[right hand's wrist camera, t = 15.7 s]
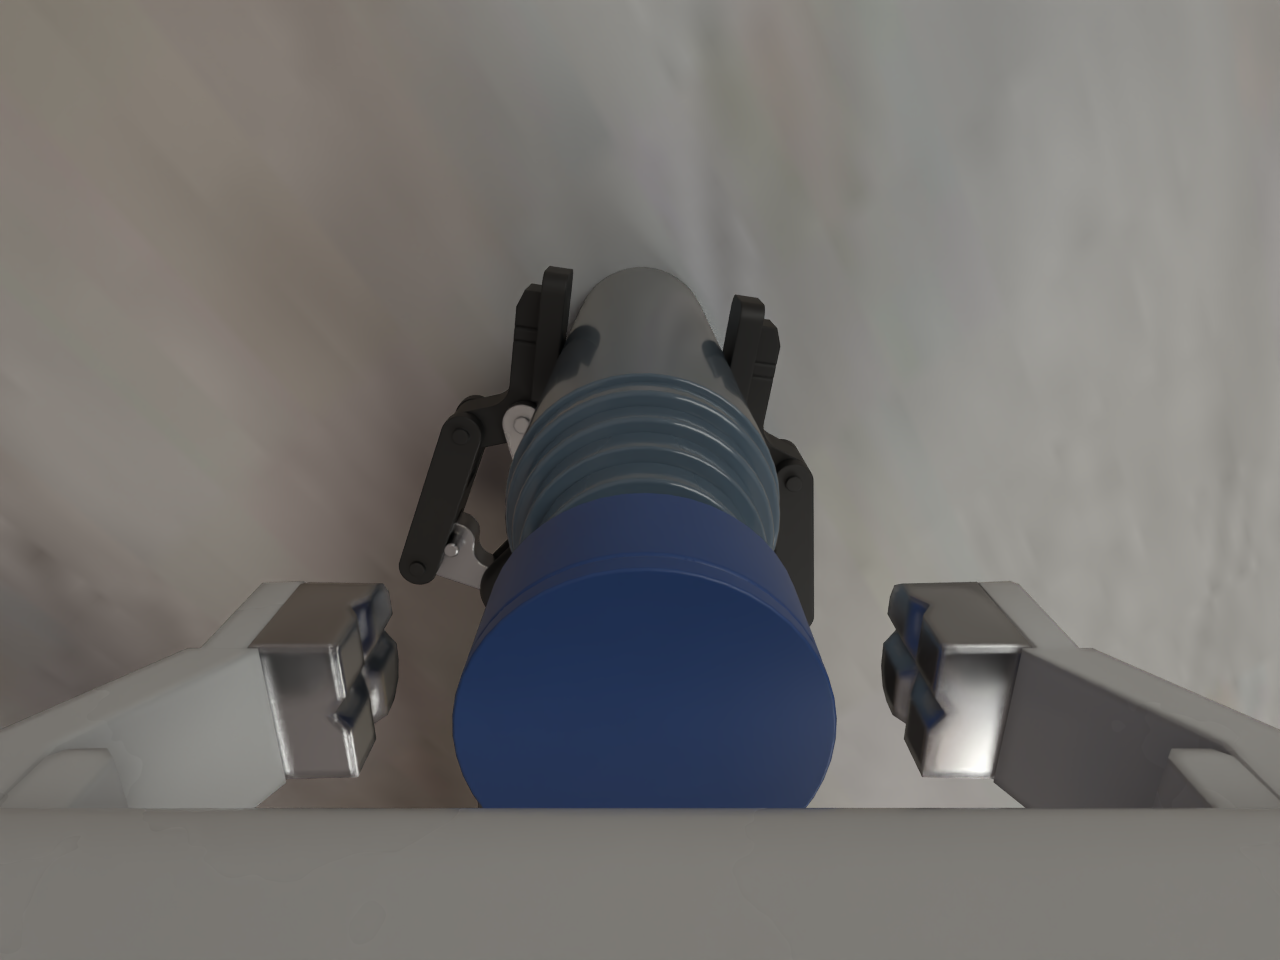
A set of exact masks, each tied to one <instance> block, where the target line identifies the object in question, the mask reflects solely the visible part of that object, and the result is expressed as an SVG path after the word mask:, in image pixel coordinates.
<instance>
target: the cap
mask: <svg viewBox="0 0 1280 960" xmlns="http://www.w3.org/2000/svg"><path fill="white" fill-rule="evenodd" d="M452 720H453V740H454V745H455V751H456V756H457V759H458V762H459V765H460V768H461V771H462V774H463V776H464V778H465V780H466V782H467V784H468V786H469V788H470V790H471V792H472V794H473V795H474V797H475V798H476V799H477V801H478V802H479V804H480V805H481V806H482V808H806V807H807V806H808V804H809V803H810V802H811V800H812V799H813V798H814V796H815V794H816V792H817V791H818V789H819V787H820V785H821V783H822V782H823V780H824V777H825V775H826V772H827V770H828V767H829V764H830V762H831V758H832V754H833V749H834V744H835V739H836V721H837V717H836V709H835V700H834V695H833V692H832V688H831V685H830V681H829V677H828V675H827V672H826V670H825V667H824V664H823V662H822V659H821V656H820V654H819V651H818V648H817V646H816V643H815V640H814V638H813V635H812V632H811V630H810V627H809V625H808V622H807V619H806V617H805V614H804V611H803V609H802V606H801V603H800V601H799V598H798V595H797V593H796V590H795V588H794V585H793V583H792V581H791V579H790V577H789V574H788V572H787V570H786V569H785V567H784V566H783V564H782V562H781V561H780V559H779V558H778V556H777V555H776V554H775V552H774V551H773V550H772V549H771V548H770V547H769V546H768V544H767V543H766V542H765V541H764V540H763V539H762V538H761V537H760V536H758V535H757V534H756V533H755V532H754V531H753V530H751V529H750V528H749V527H748V526H747V525H745V524H743V523H742V522H740V521H739V520H737V519H736V518H734V517H733V516H731V515H729V514H727V513H725V512H723V511H721V510H719V509H717V508H715V507H713V506H710V505H707V504H704V503H701V502H698V501H695V500H692V499H689V498H684V497H679V496H673V495H668V494H654V493H634V494H620V495H615V496H609V497H604V498H599V499H596V500H593V501H590V502H586V503H583V504H580V505H578V506H576V507H573V508H571V509H569V510H567V511H564V512H562V513H560V514H559V515H557V516H555V517H554V518H552V519H550V520H549V521H547V522H545V523H544V524H542V525H541V526H540V527H539V528H538V529H536V530H535V531H534V532H533V533H531V534H530V535H529V536H528V537H527V538H526V539H525V540H524V541H523V542H522V543H521V544H520V545H519V546H518V547H517V548H516V549H515V551H514V552H513V553H512V555H511V556H510V557H509V559H508V560H507V562H506V563H505V565H504V566H503V567H502V570H501V572H500V574H499V576H498V578H497V580H496V582H495V584H494V586H493V589H492V592H491V595H490V597H489V600H488V603H487V606H486V608H485V611H484V614H483V617H482V620H481V622H480V625H479V628H478V631H477V633H476V636H475V639H474V642H473V645H472V647H471V650H470V653H469V656H468V659H467V661H466V664H465V667H464V670H463V672H462V675H461V678H460V682H459V685H458V688H457V691H456V694H455V701H454V708H453V714H452Z"/></svg>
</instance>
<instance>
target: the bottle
mask: <svg viewBox="0 0 1280 960" xmlns="http://www.w3.org/2000/svg"><path fill="white" fill-rule="evenodd" d="M634 493H654V494H668V495H673V496H679V497H684V498H689V499H692V500H695V501H698V502H701V503H704V504H707V505H710V506H713V507H715V508H717V509H719V510H721V511H723V512H725V513H727V514H729V515H731V516H733V517H734V518H736V519H737V520H739V521H740V522H742V523H743V524H745V525H747V526H748V527H749V528H750V529H751V530H753V531H754V532H755V533H756V534H757V535H758V536H760V537H761V538H762V539H763V540H764V541H765V542H766V543H767V544H768V546H769V547H770V548H771V549H772V550H773V551H774V550H775V547H776V543H777V538H778V533H779V525H780V506H779V502H780V494H779V483H778V477H777V473H776V468H775V464H774V462H773V459H772V457H771V454H770V451H769V449H768V447H767V445H766V442H765V440H764V438H763V436H762V434H761V432H760V430H759V428H758V426H757V424H756V421H755V419H754V417H753V415H752V413H751V411H750V409H749V407H748V405H747V403H746V400H745V398H744V396H743V394H742V392H741V390H740V388H739V386H738V384H737V382H736V379H735V377H734V375H733V373H732V371H731V369H730V367H729V365H728V363H727V361H726V358H725V356H724V354H723V352H722V350H721V348H720V346H719V344H718V342H717V340H716V337H715V335H714V333H713V331H712V329H711V327H710V325H709V323H708V321H707V318H706V316H705V314H704V312H703V310H702V308H701V306H700V304H699V302H698V300H697V298H696V297H695V295H694V294H693V293H692V291H691V290H690V289H689V288H688V287H687V286H686V285H685V284H684V283H683V282H682V281H680V280H679V279H678V278H676V277H675V276H673V275H671V274H669V273H667V272H664V271H662V270H658V269H654V268H647V267H635V268H628V269H624V270H621V271H618V272H616V273H613V274H611V275H610V276H608V277H606V278H605V279H603V280H602V281H601V282H600V283H598V284H597V285H596V286H595V287H594V288H593V289H592V291H591V292H590V293H589V295H588V296H587V297H586V299H585V301H584V303H583V305H582V307H581V309H580V311H579V313H578V316H577V318H576V320H575V322H574V324H573V327H572V329H571V331H570V333H569V335H568V338H567V340H566V342H565V344H564V346H563V349H562V351H561V353H560V355H559V357H558V360H557V362H556V364H555V366H554V368H553V371H552V373H551V375H550V377H549V379H548V381H547V384H546V386H545V388H544V390H543V392H542V395H541V397H540V399H539V401H538V403H537V406H536V408H535V410H534V412H533V414H532V417H531V419H530V421H529V423H528V425H527V428H526V430H525V432H524V434H523V436H522V438H521V441H520V443H519V445H518V447H517V449H516V452H515V454H514V457H513V460H512V463H511V466H510V469H509V474H508V479H507V483H506V499H505V502H506V512H505V520H506V531H507V537H508V541H509V545H510V549H511V552H512V553H513V552H514V551H515V549H516V548H517V547H518V546H519V545H520V544H521V543H522V542H523V541H524V540H525V539H526V538H527V537H528V536H529V535H530V534H531V533H533V532H534V531H535V530H536V529H538V528H539V527H540V526H541V525H542V524H544V523H545V522H547V521H549V520H550V519H552V518H554V517H555V516H557V515H559V514H560V513H562V512H564V511H567V510H569V509H571V508H573V507H576V506H578V505H580V504H583V503H586V502H590V501H593V500H596V499H599V498H604V497H609V496H615V495H620V494H634Z"/></svg>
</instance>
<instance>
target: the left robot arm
mask: <svg viewBox="0 0 1280 960" xmlns="http://www.w3.org/2000/svg"><path fill="white" fill-rule="evenodd" d="M572 280H573V269H567V268H560V267H553V266H549V267H548V268H547V269H546V270H545V272H544V276H543V281H542V285H537V284H531V285H530V286H529V287H528V288H527V289H526V290H525V291H524V293H523V295H522V297H521V299H520V301H519V303H518V305H517V307H516V318H515V330H514V342H513V353H512V365H511V376H510V387H509V390H507V391H506V392H504V393H502V394H498V395H493V396H488V397H483V396H480V395H472V396H469V397H467V398H465V399H464V400H463V401H462V402H461V403H460V405H459V406H458V408H457V410H456V412H455V413H454V414H453V415H452V416H450V417H449V418H448V420H447V421H446V422H445V423H444V425H443V427H442V429H441V432H440V436H439V439H438V442H437V445H436V448H435V451H434V455H433V458H432V461H431V464H430V467H429V470H428V474H427V477H426V480H425V483H424V486H423V489H422V493H421V496H420V499H419V502H418V505H417V508H416V511H415V515H414V518H413V521H412V524H411V527H410V530H409V534H408V537H407V540H406V543H405V546H404V549H403V553H402V556H401V559H400V562H399V570H400V573H401V574H402V576H403V577H404V578H405V579H406V580H407V581H409V582H411V583H414V584H426V583H428V582H430V581H432V580H433V579H434V577H435V576H436V575H439V576H442V577H444V578H447V579H450V580H453V581H456V582H459V583H462V584H465V585H468V586H471V587H474V588H477V589H480V594H481V598H482V601H483V603H484V605H485V607H486V606H487V603H488V600H489V597H490V595H491V592H492V589H493V586H494V584H495V582H496V580H497V578H498V576H499V574H500V572H501V570H502V567H503V566H504V565H505V563H506V562H507V560H508V559H509V557H510V556H511V555H512V552H511V549H510V545H509V541H508V540H507V541H506V542H505V543H504V544H503V545H502V546H501V547H500V548H499V549H498V550H497V551H496V552H495V553H494V554H493V555H492V554H490V553H488V552H487V551H485V550H484V549H483V547H482V546H481V544H480V541H479V534H480V526H479V523H478V522H477V520H476V519H475V518H474V517H473V516H471V515H470V514H467V513H465V512H463V511H464V508H465V505H466V502H467V499H468V496H469V493H470V490H471V487H472V484H473V481H474V478H475V476H476V473H477V470H478V467H479V464H480V461H481V458H482V455H483V452H484V449H485V447H488V446H493V445H498V444H503V443H507V444H508V447H509V450H510V454H511V457H512V460H513V457H514V454H515V452H516V449H517V447H518V445H519V443H520V441H521V438H522V436H523V434H524V432H525V430H526V428H527V425H528V423H529V421H530V419H531V417H532V414H533V412H534V410H535V408H536V406H537V403H538V401H539V399H540V397H541V395H542V392H543V390H544V388H545V386H546V384H547V381H548V379H549V377H550V375H551V373H552V371H553V368H554V366H555V364H556V362H557V360H558V357H559V355H560V353H561V351H562V349H563V346H564V344H565V342H566V335H567V326H568V317H569V308H570V299H571V290H572ZM764 314H765V306H764V304H763V303H762V302H761V301H760V300H759V299H758V298H754V297H748V296H741V295H735V296H734V298H733V301H732V305H731V310H730V315H729V321H728V326H727V331H726V337H725V342H724V347H723V354H724V356H725V358H726V361H727V363H728V365H729V367H730V369H731V371H732V373H733V375H734V377H735V379H736V382H737V384H738V386H739V388H740V390H741V392H742V394H743V396H744V398H745V400H746V403H747V405H748V407H749V409H750V411H751V413H752V415H753V417H754V419H755V421H756V424H757V426H758V428H759V430H760V432H761V434H762V436H763V438H764V440H765V442H766V445H767V447H768V449H769V451H770V454H771V457H772V459H773V462H774V464H775V468H776V473H777V477H778V483H779V494H780V502H779V506H780V525H779V533H778V538H777V543H776V547H775V550H774V552H775V554H776V555H777V556H778V558H779V559H780V561H781V562H782V564H783V566H784V567H785V569H786V570H787V572H788V574H789V577H790V579H791V581H792V583H793V585H794V588H795V590H796V593H797V595H798V598H799V601H800V603H801V606H802V609H803V611H804V614H805V617H806V619H807V622H808V625H809V627H810V625H811V624H812V622H813V619H814V509H813V476H812V474H811V472H810V470H809V469H808V467H807V465H806V463H805V462H804V460H803V458H802V456H801V455H800V453H799V451H798V450H797V448H796V446H795V445H794V444H793V443H792V442H790V441H788V440H785V439H778V438H776V437H774V436H773V435H771V434H769V433H767V432H766V431H765V430H763V425H764V419H765V414H766V410H767V405H768V401H769V396H770V391H771V387H772V382H773V377H774V373H775V368H776V364H777V359H778V354H779V350H780V342H779V336H778V330H777V328H776V326H775V325H774V324H773V323H772V322H771V321H770V320H767V319H764ZM478 808H482V806H481V805H480V804H479V802H478Z"/></svg>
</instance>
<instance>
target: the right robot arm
mask: <svg viewBox="0 0 1280 960" xmlns="http://www.w3.org/2000/svg"><path fill="white" fill-rule="evenodd" d="M391 616H392V608H391V602H390V596H389V591H388V590H387V588H386V587H385V586H384V584H383V583H333V582H307V583H306V582H304V581H292V582H268V583H262V584H261V585H260V586H259V587H258V588H257V589H256V590H255V591H254V592H253V593H252V594H251V595H250V597H249V598H248V599H247V600H246V601H245V602H244V603H243V604H242V605H241V606H240V607H239V608H238V609H237V610H236V611H235V612H234V613H233V614H232V615H231V617H230V618H229V619H228V620H227V621H226V622H225V623H224V624H223V625H222V626H221V627H220V628H219V629H218V630H217V631H216V632H215V633H214V634H213V636H212V637H211V638H210V639H209V640H208V641H207V642H206V643H205V644H204V645H203V646H202V647H201V648H187V649H185V650H182V651H180V652H178V653H176V654H173V655H171V656H169V657H166V658H164V659H162V660H159V661H157V662H155V663H152V664H150V665H148V666H146V667H143V668H141V669H139V670H136V671H134V672H132V673H129V674H127V675H125V676H122V677H120V678H118V679H116V680H113V681H111V682H109V683H106V684H104V685H102V686H99V687H97V688H95V689H92V690H90V691H88V692H86V693H83V694H81V695H79V696H76V697H74V698H72V699H69V700H67V701H65V702H62V703H60V704H58V705H56V706H53V707H51V708H49V709H46V710H44V711H42V712H39V713H37V714H35V715H33V716H30V717H28V718H26V719H23V720H21V721H19V722H16V723H14V724H12V725H9V726H7V727H5V728H3V729H0V960H1280V730H1279V729H1277V728H1275V727H1272V726H1270V725H1268V724H1265V723H1263V722H1261V721H1259V720H1256V719H1254V718H1252V717H1249V716H1247V715H1245V714H1242V713H1240V712H1238V711H1236V710H1233V709H1231V708H1229V707H1226V706H1224V705H1222V704H1219V703H1217V702H1215V701H1213V700H1210V699H1208V698H1206V697H1203V696H1201V695H1199V694H1196V693H1194V692H1192V691H1190V690H1187V689H1185V688H1183V687H1180V686H1178V685H1176V684H1173V683H1171V682H1169V681H1167V680H1164V679H1162V678H1160V677H1157V676H1155V675H1153V674H1150V673H1148V672H1146V671H1144V670H1141V669H1139V668H1137V667H1134V666H1132V665H1130V664H1127V663H1125V662H1123V661H1121V660H1118V659H1116V658H1114V657H1111V656H1109V655H1107V654H1104V653H1102V652H1100V651H1098V650H1095V649H1093V648H1079V647H1078V646H1077V645H1076V644H1075V643H1074V642H1073V641H1072V640H1071V639H1070V638H1069V637H1068V635H1067V634H1066V633H1065V632H1064V631H1063V630H1062V629H1061V628H1060V627H1059V626H1058V625H1057V624H1056V623H1055V622H1054V621H1053V620H1052V619H1051V617H1050V616H1049V615H1048V614H1047V613H1046V612H1045V611H1044V610H1043V609H1042V608H1041V607H1040V606H1039V605H1038V604H1037V603H1036V602H1035V601H1034V600H1033V598H1032V597H1031V596H1030V595H1029V594H1028V593H1027V592H1026V591H1025V590H1024V589H1023V588H1022V587H1021V586H1020V585H1019V584H1017V583H1014V582H1011V581H999V582H951V583H909V584H898V585H894V588H893V590H892V593H891V596H890V601H889V607H888V616H889V617H890V619H891V621H892V623H893V625H894V626H895V628H896V631H895V632H894V633H893V634H892V635H891V636H890V637H889V638H888V639H887V640H886V641H885V642H884V643H883V653H882V663H881V670H882V684H883V690H884V693H885V697H886V701H887V703H888V706H889V708H890V710H891V712H892V715H894V716H895V717H897V718H898V719H900V720H901V721H903V722H904V723H906V728H905V735H904V740H905V742H906V744H907V746H908V748H909V750H910V753H911V755H912V757H913V759H914V761H915V763H916V765H917V767H918V769H919V771H920V773H921V775H922V777H937V778H974V779H994V783H995V784H997V785H998V786H999V787H1000V788H1002V789H1003V790H1004V791H1005V792H1007V793H1008V794H1009V795H1010V796H1011V797H1013V798H1014V799H1015V800H1016V801H1018V802H1019V803H1020V804H1021V805H1023V806H1024V807H1025V808H255V807H256V806H258V805H259V804H260V803H261V802H263V801H264V800H265V799H266V798H268V797H269V796H270V795H271V794H273V793H274V792H275V791H276V790H278V789H279V788H280V787H281V786H283V785H284V784H285V783H286V779H305V778H341V777H358V776H359V773H360V771H361V769H362V767H363V765H364V763H365V761H366V759H367V757H368V755H369V753H370V751H371V748H372V746H373V744H374V742H375V740H376V735H375V728H374V723H376V722H377V721H379V720H380V719H382V718H383V717H385V716H386V715H388V712H389V710H390V708H391V706H392V703H393V701H394V698H395V693H396V688H397V682H398V663H399V660H398V651H397V643H396V642H395V641H394V640H393V639H392V638H391V637H390V636H389V635H388V634H387V633H386V632H385V631H384V628H385V626H386V625H387V623H388V621H389V619H390V617H391Z"/></svg>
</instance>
